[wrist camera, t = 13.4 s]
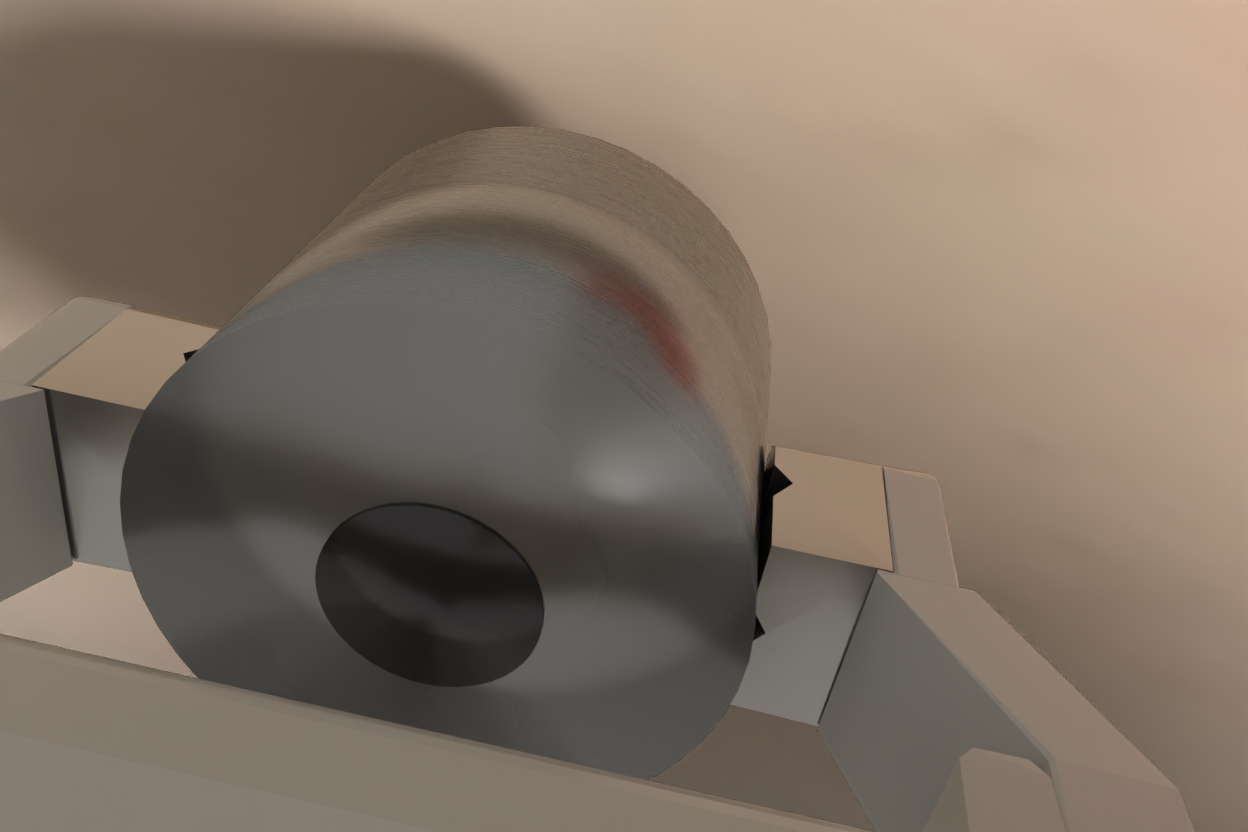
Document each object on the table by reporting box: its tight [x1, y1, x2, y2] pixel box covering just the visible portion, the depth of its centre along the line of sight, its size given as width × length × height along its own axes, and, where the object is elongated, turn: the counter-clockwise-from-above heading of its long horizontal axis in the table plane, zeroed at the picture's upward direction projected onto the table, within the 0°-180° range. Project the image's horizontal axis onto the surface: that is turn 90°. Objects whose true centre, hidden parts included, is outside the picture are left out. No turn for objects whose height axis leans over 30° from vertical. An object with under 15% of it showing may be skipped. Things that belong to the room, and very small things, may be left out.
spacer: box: [120, 126, 771, 780], centre depth 10 cm, size 5×5×4 cm
